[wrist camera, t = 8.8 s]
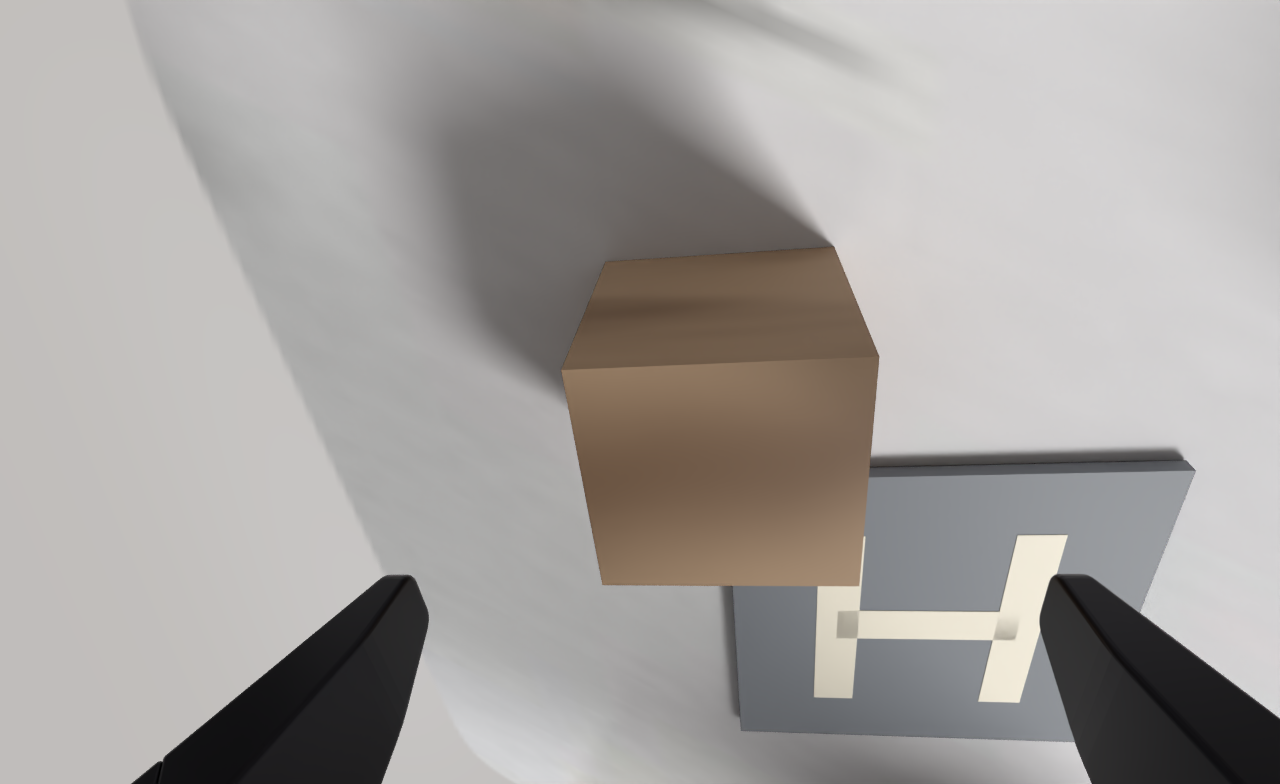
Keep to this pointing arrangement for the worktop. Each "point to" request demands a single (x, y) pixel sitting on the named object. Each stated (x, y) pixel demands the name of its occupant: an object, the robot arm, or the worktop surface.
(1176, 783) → the robot arm
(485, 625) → the worktop surface
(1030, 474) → the letter card
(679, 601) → the worktop surface
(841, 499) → the walnut block
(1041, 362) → the worktop surface
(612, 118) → the worktop surface
